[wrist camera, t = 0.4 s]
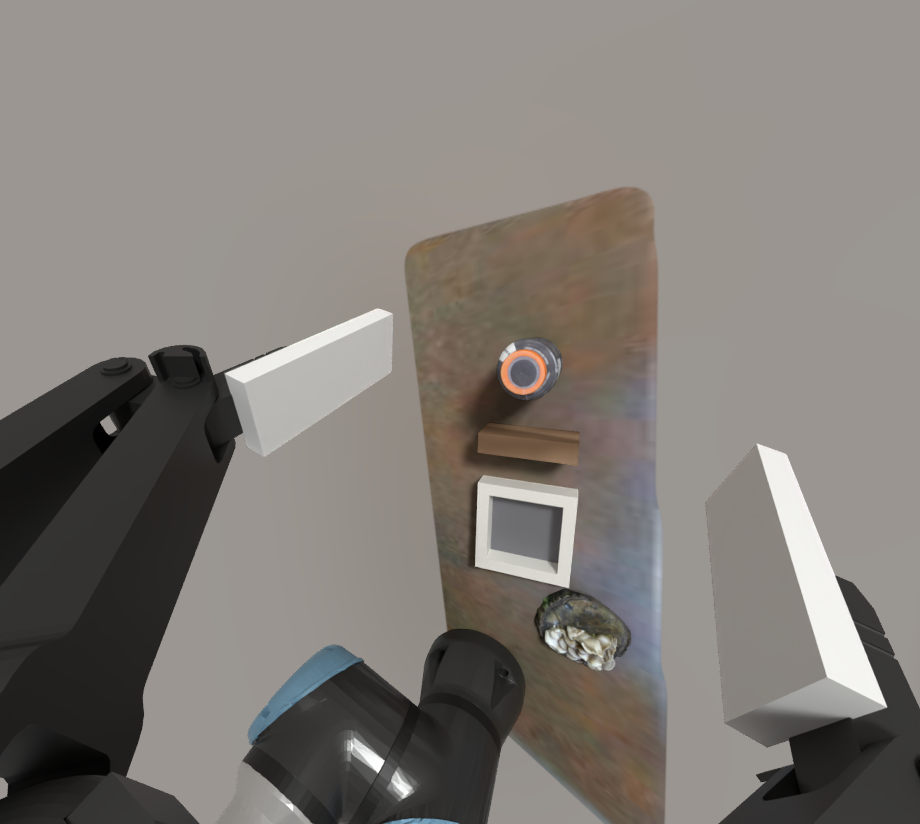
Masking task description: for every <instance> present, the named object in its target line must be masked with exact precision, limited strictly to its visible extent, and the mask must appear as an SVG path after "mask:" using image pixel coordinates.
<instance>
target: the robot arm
mask: <svg viewBox="0 0 920 824" xmlns="http://www.w3.org/2000/svg"><path fill="white" fill-rule="evenodd" d="M392 331H393V314H392V313H389V312H387V311H384V310H381V309H375V310H373V311H370V312H368V313H365V314H363V315H361V316H358V317H356V318H354V319H351V320H349V321H347V322H344V323H342V324H340V325H337V326H335V327H333V328H330V329H328V330H325V331H323V332H321V333H318V334H316V335H314V336H311V337H309V338H307V339H304V340H302V341H300V342H297V343H295V344H293V345H290V346H285V347H280V348H277V349H275V350H272V351H270V352H268V353H266V355H261V356H258V357H256V358H255V360H254V359H251V360H249V361H246V362H244V363H242V364H239V365H237V366H234V367H232V368H230V369H227V370H225V371H223V372H220V373H218V374H215V375H213V373H212V370H211V367H210V364H209V361H208V358H207V355H206V352H205V351H204V350H203V349H202V348H200V347H197V346H191V345H176V346H170V347H165V348H162V349H159V350H157V351H154V352H153V353H151V354H150V355H149V356H148V357H149V359H150V362H151V364H152V366H153V368H154V371H155V373H156V375H157V376H153V375H151V374H150V372H149V370H148V367H147V365H146V363H145V362H144V361H142V360H141V359H137V358H125V357H119V358H112V359H109V360H106V361H103V362H100V363H98V364H95V365H93V366H91V367H90V368H88V369H86V370H85V371H83V372H81V373H79V374H78V375H76V376H75V377H73V378H71V379H69V380H68V381H66V382H64V383H63V384H61V385H59V386H57V387H56V388H54V389H52V390H51V391H49V392H47V393H45V394H44V395H42V396H40V397H39V398H37V399H35V400H34V401H32V402H30V403H29V404H27V405H25V406H23V407H22V408H20V409H18V410H17V411H15V412H13V413H12V414H10V415H8V416H7V417H5V418H3V419H2V420H0V777H1V778H4V779H5V781H6V782H7V783H8V794H7V797H5V798H3V799H1V800H0V824H199V823H198V822H197V821H196V819H195V818H194V817H193V816H192V815H191V814H190V813H189V812H188V811H187V810H186V809H185V807H184V806H183V805H182V804H181V803H180V802H179V801H178V800H177V799H176V798H175V797H174V796H173V795H170V794H168V793H165V792H163V791H160V790H158V789H155V788H152V787H150V786H147V785H145V784H142V783H140V782H137V781H135V780H132V779H129V778H127V777H126V775H127V772H128V770H129V767H130V764H131V761H132V758H133V755H134V753H135V750H136V747H137V744H138V741H139V738H140V734H141V731H142V726H143V718H144V710H143V691H144V687H145V683H146V680H147V678H148V675H149V672H150V670H151V667H152V665H153V662H154V659H155V657H156V654H157V651H158V649H159V646H160V644H161V641H162V638H163V636H164V633H165V630H166V628H167V625H168V623H169V620H170V617H171V614H172V612H173V610H174V607H175V604H176V601H177V599H178V596H179V594H180V591H181V588H182V586H183V583H184V581H185V578H186V575H187V573H188V570H189V568H190V565H191V562H192V560H193V557H194V554H195V552H196V549H197V546H198V544H199V541H200V538H201V536H202V533H203V531H204V528H205V525H206V523H207V520H208V518H209V515H210V512H211V510H212V507H213V505H214V502H215V499H216V497H217V494H218V492H219V489H220V486H221V484H222V481H223V478H224V476H225V473H226V471H227V468H228V465H229V463H230V460H231V458H232V455H233V452H234V449H235V439H234V438H235V437H237V436H238V435H240V434H242V433H243V435H244V438H245V442H246V445H247V447H248V448H250V449H251V450H253V451H255V452H256V453H258V454H260V455H262V456H263V457H265V456H266V455H268V454H269V453H271V452H272V451H274V450H275V449H277V448H278V447H280V446H281V445H283V444H284V443H286V442H287V441H289V440H290V439H292V438H293V437H295V436H296V435H298V434H299V433H301V432H302V431H303V430H305V429H307V428H308V427H310V426H311V425H313V424H314V423H316V422H317V421H319V420H320V419H322V418H323V417H325V416H326V415H328V414H329V413H331V412H332V411H334V410H335V409H337V408H338V407H340V406H341V405H343V404H344V403H346V402H347V401H349V400H350V399H351V398H353V397H355V396H356V395H358V394H359V393H361V392H362V391H364V390H365V389H367V388H368V387H370V386H371V385H373V384H374V383H376V382H377V381H379V380H380V379H382V378H383V377H385V376H386V375H388V374H389V373H391V372H392V334H393V333H392ZM108 415H109V416H110V418H111V420H112V421H113V423H114V425H115V426H116V428H117V430H116V431H115V432H114V433H112V434H110V435H108V434H107V433H106V432H105V430H104V428H103V427H102V426H101V424H100V421H102V420H103V419H104V418H106V417H107V416H108ZM705 504H706V515H707V526H708V539H709V550H710V561H711V573H712V584H713V596H714V607H715V618H716V630H717V641H718V653H719V664H720V676H721V688H722V699H723V710H724V722H725V723H726V724H727V725H729V726H731V727H733V728H734V729H736V730H738V731H739V732H741V733H743V734H745V735H746V736H748V737H750V738H752V739H753V740H755V741H757V742H759V743H760V744H762V745H764V746H766V747H770V746H773V745H776V744H779V743H782V742H785V741H788V740H789V742H790V747H791V752H792V757H793V762H794V764H793V765H789V766H785V767H782V768H778V769H774V770H770V771H766V772H763V773H760V774H757V775H756V776H757V777H758V779H759V780H760V781H761V782H765V781H766V782H765V783H764V784H763V785H762V786H761V787H760V788H758V789H757V790H756V791H755V792H754V793H753V794H752V795H751V796H749V797H748V798H747V799H746V800H745V801H744V802H743V803H741V805H739V806H738V807H737V808H736V809H735V810H734V811H732V812H731V813H730V814H729V815H728V816H727V817H726V818H725V819H724V820H722V821H721V822H720V823H719V824H920V708H919V706H918V704H917V702H916V699H915V697H914V695H913V693H912V691H911V689H910V687H909V684H908V682H907V680H906V678H905V676H904V674H903V671H902V669H901V667H900V665H899V662H898V661H897V660H896V659H894V655H895V654H894V652H893V649H892V647H891V645H890V643H889V641H888V639H887V638H885V637H884V634H885V632H884V630H883V628H882V625H881V623H880V621H879V619H878V617H877V615H876V612H875V610H874V608H873V607H872V606H871V605H870V603H869V602H868V601H867V600H866V598H865V597H864V596H863V595H862V594H861V592H860V591H859V590H858V589H857V587H856V586H855V585H854V584H853V583H852V582H849V581H847V580H844V579H842V578H840V577H838V576H835V575H834V572H833V570H832V567H831V565H830V562H829V560H828V558H827V555H826V553H825V550H824V548H823V545H822V542H821V540H820V537H819V535H818V532H817V530H816V527H815V525H814V522H813V520H812V517H811V515H810V512H809V510H808V507H807V505H806V502H805V500H804V497H803V495H802V492H801V490H800V487H799V485H798V482H797V480H796V477H795V475H794V472H793V470H792V467H791V465H790V462H789V460H788V457H787V455H786V454H785V453H782V452H779V451H776V450H773V449H770V448H768V447H765V446H762V445H759V444H756V445H755V446H754V447H753V448H752V450H751V451H750V452H749V453H748V454H747V455H746V456H745V458H744V459H743V460H742V461H741V462H740V463H739V465H738V466H737V467H736V468H735V469H734V470H733V471H732V473H731V474H730V475H729V476H728V477H727V478H726V479H725V481H724V482H723V483H722V484H721V485H720V486H719V487H718V489H717V490H716V491H715V492H714V493H713V494H712V496H711V497H710V498H709V499H708V500H707V501H706V503H705ZM524 695H525V680H524V676H523V672H522V670H521V668H520V666H519V664H518V662H517V661H516V659H515V658H514V657H513V655H512V654H511V653H510V652H509V651H508V650H507V649H506V648H505V647H504V646H503V645H502V644H500V643H499V642H498V641H496V640H495V639H493V638H491V637H489V636H487V635H485V634H483V633H480V632H477V631H473V630H467V629H456V630H451V631H448V632H445V633H443V634H442V635H440V636H439V637H438V638H437V639H436V640H435V642H434V643H433V645H432V647H431V649H430V651H429V653H428V655H427V658H426V661H425V666H424V673H423V681H422V689H421V697H420V703H419V705H418V707H417V706H416V705H415V704H413V703H412V702H411V701H410V700H409V699H407V698H406V697H405V696H404V695H403V694H401V693H400V692H399V691H398V690H396V689H395V688H394V687H393V686H392V685H390V684H389V683H388V682H387V681H385V680H384V679H383V678H382V677H381V676H379V675H378V674H377V673H376V672H375V671H373V670H372V669H371V668H370V667H368V666H367V665H366V664H365V663H364V661H363V659H362V658H357V657H356V656H355V655H353V654H352V653H350V652H349V651H347V650H346V649H345V648H343V647H342V646H340V645H330V646H327V647H325V648H323V649H321V650H320V651H319V652H317V653H316V654H315V655H313V656H312V657H311V658H310V659H309V660H308V661H307V662H306V663H304V664H303V666H301V667H300V668H299V669H298V670H297V671H296V672H295V673H294V674H293V675H292V676H291V677H290V678H289V679H288V681H287V682H286V683H285V684H284V685H283V686H282V687H281V688H280V689H279V690H278V691H277V692H276V694H275V695H274V696H273V697H272V698H271V700H270V701H269V703H268V705H267V706H266V707H265V708H264V709H263V710H262V711H261V712H260V713H259V715H258V716H257V717H256V718H255V720H254V721H253V723H252V725H251V726H250V728H249V730H248V738H249V744H251V745H252V746H253V745H254V746H253V747H252V749H251V750H250V751H249V753H248V754H247V755H246V757H245V758H244V759H243V761H242V762H241V763H240V765H239V767H238V776H237V784H236V791H235V794H234V797H233V800H232V801H231V802H230V804H229V805H228V806H227V808H226V809H225V811H224V812H223V813H222V815H221V816H220V817H219V819H218V820H217V822H216V823H215V824H487V822H488V816H489V811H490V806H491V800H492V795H493V789H494V784H495V778H496V773H497V768H498V762H499V757H500V751H501V747H502V745H503V743H504V742H505V740H506V738H507V736H508V735H509V733H510V731H511V729H512V728H513V726H514V724H515V722H516V720H517V719H518V717H519V715H520V713H521V710H522V706H523V701H524Z"/></svg>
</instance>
